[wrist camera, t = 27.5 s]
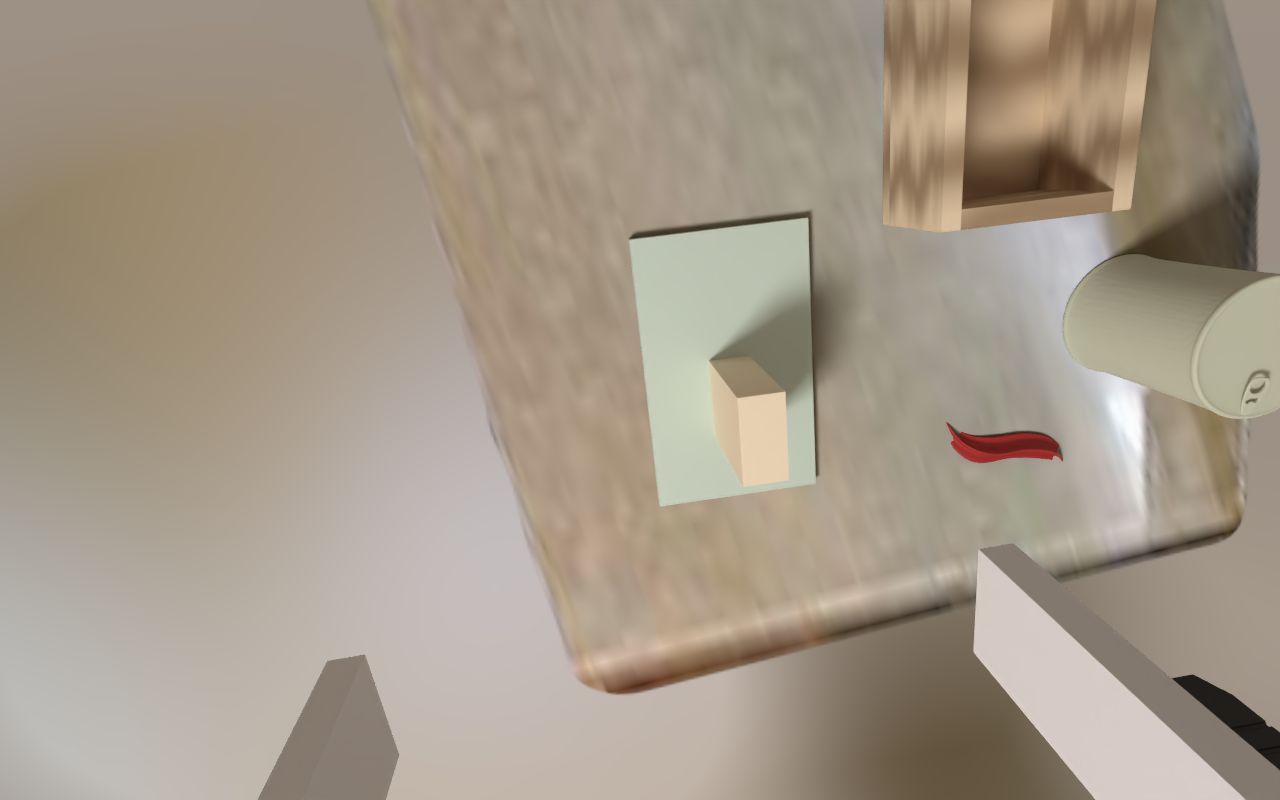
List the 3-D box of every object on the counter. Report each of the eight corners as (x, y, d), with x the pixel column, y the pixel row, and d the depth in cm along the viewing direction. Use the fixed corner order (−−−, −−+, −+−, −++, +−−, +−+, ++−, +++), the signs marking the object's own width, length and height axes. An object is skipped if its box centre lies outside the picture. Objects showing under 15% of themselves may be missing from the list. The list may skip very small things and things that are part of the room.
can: (1051, 373, 52) (1184, 426, 41) (1074, 255, 49) (1223, 276, 38) (1159, 369, 53) (1318, 419, 42) (1188, 252, 50) (1367, 272, 39)
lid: (628, 238, 46) (642, 253, 37) (802, 217, 47) (861, 225, 37) (658, 499, 53) (676, 569, 43) (810, 477, 54) (862, 541, 44)
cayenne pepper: (926, 439, 54) (939, 448, 52) (958, 390, 52) (972, 397, 51) (1038, 494, 56) (1054, 504, 54) (1071, 448, 55) (1088, 457, 53)
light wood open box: (885, -107, 41) (956, -173, 33) (1070, -124, 41) (1180, -193, 34) (882, 224, 47) (941, 232, 40) (1042, 204, 48) (1130, 209, 40)
